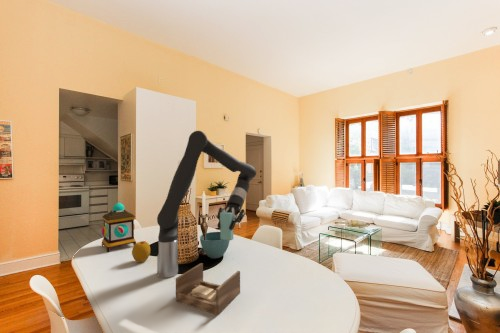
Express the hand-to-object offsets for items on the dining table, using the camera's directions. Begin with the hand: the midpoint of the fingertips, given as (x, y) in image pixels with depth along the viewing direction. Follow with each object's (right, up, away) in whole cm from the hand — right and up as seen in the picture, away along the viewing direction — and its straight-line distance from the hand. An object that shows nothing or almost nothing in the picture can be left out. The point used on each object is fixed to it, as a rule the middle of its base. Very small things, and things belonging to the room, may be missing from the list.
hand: (224, 228), depth 106 cm
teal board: (+1, -5, +2) cm, 5 cm away
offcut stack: (-7, -25, -14) cm, 29 cm away
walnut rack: (-5, -26, -11) cm, 29 cm away
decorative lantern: (-79, -27, +56) cm, 101 cm away
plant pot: (-10, -27, +37) cm, 46 cm away
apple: (-51, -27, +29) cm, 65 cm away
